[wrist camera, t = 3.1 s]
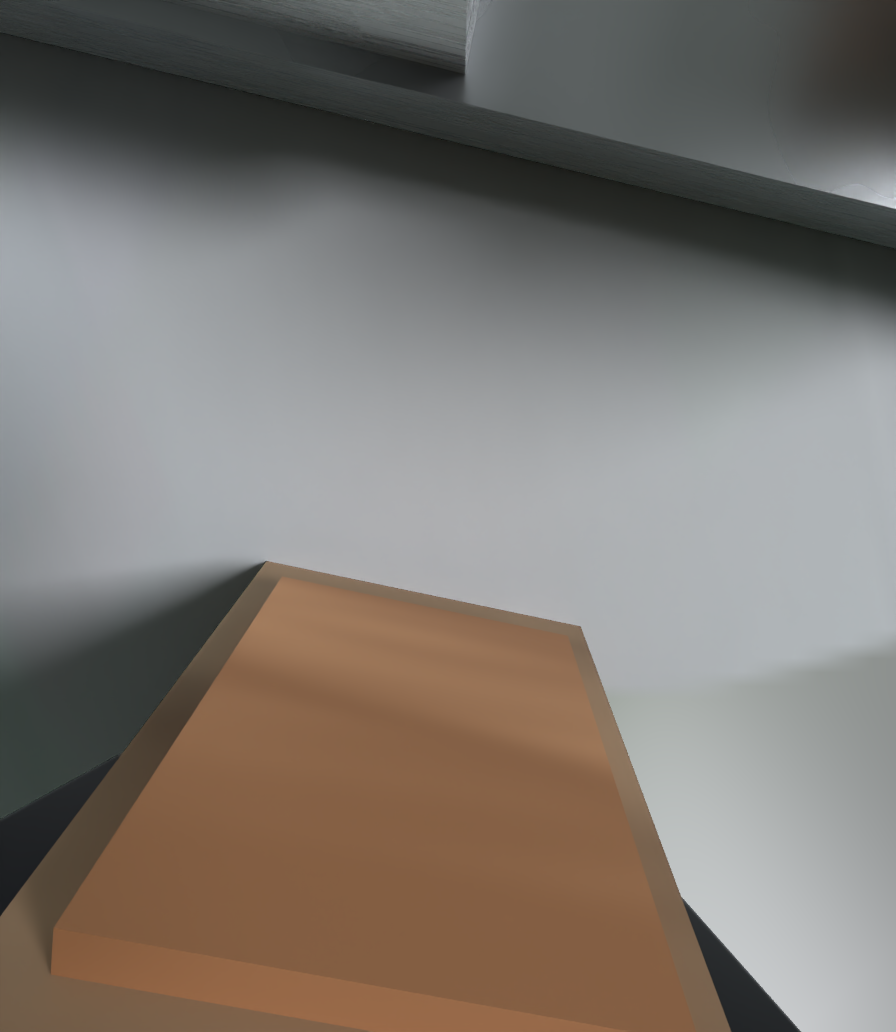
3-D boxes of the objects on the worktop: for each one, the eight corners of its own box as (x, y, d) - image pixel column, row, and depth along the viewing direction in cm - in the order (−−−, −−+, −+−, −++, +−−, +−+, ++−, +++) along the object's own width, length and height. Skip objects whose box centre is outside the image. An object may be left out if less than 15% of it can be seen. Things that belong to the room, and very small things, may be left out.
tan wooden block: (504, 874, 10) (568, 1668, 4) (227, 821, 10) (-112, 1578, 4) (586, 604, 9) (839, 1207, 3) (270, 538, 8) (-139, 1043, 3)
